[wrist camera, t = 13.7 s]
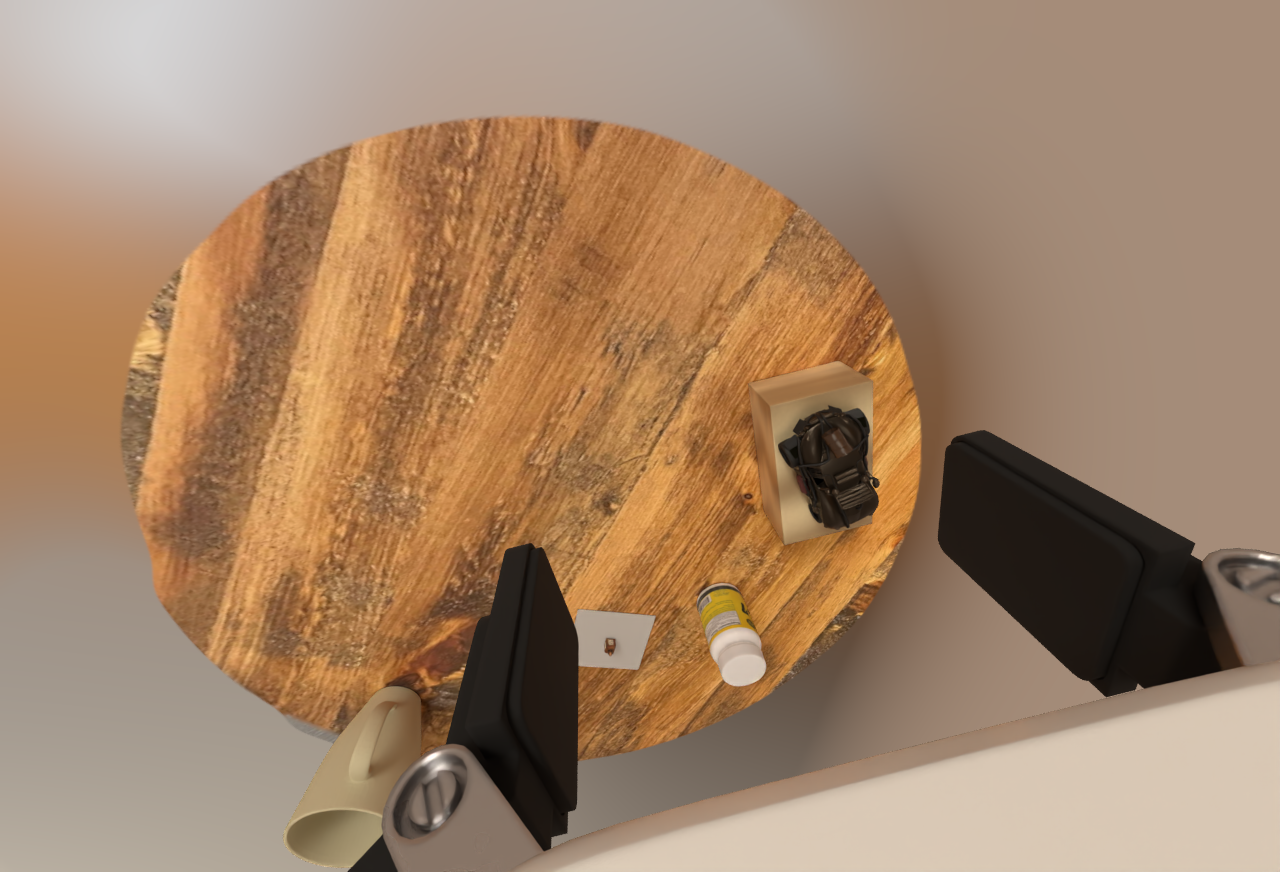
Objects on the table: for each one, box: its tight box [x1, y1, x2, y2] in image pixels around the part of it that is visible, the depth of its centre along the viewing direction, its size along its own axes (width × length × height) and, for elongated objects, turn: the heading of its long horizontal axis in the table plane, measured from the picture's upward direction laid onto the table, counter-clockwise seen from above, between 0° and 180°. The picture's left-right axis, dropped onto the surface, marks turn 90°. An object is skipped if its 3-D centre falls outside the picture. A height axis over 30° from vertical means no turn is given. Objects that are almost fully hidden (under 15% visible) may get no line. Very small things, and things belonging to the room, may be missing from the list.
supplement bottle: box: [697, 583, 766, 686], centre depth 44 cm, size 5×5×8 cm
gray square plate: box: [575, 609, 656, 670], centre depth 48 cm, size 8×8×2 cm
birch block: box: [748, 361, 873, 545], centre depth 38 cm, size 13×8×5 cm, turn 13°
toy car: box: [778, 405, 880, 530], centre depth 34 cm, size 6×12×4 cm, turn 25°
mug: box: [283, 686, 421, 868], centre depth 43 cm, size 11×10×12 cm
